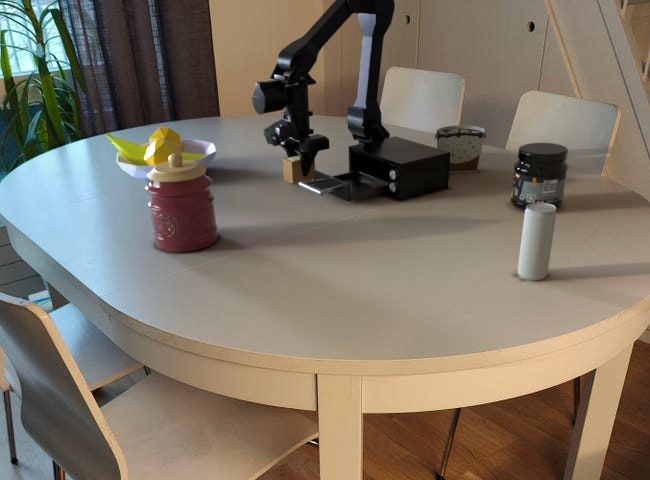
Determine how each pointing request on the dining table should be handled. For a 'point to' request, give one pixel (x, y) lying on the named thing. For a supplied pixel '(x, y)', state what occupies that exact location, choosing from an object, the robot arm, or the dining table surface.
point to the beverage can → (536, 241)
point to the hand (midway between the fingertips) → (300, 173)
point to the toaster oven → (402, 166)
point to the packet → (296, 170)
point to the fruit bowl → (160, 151)
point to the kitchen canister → (181, 205)
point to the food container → (461, 146)
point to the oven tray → (346, 185)
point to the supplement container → (539, 175)
